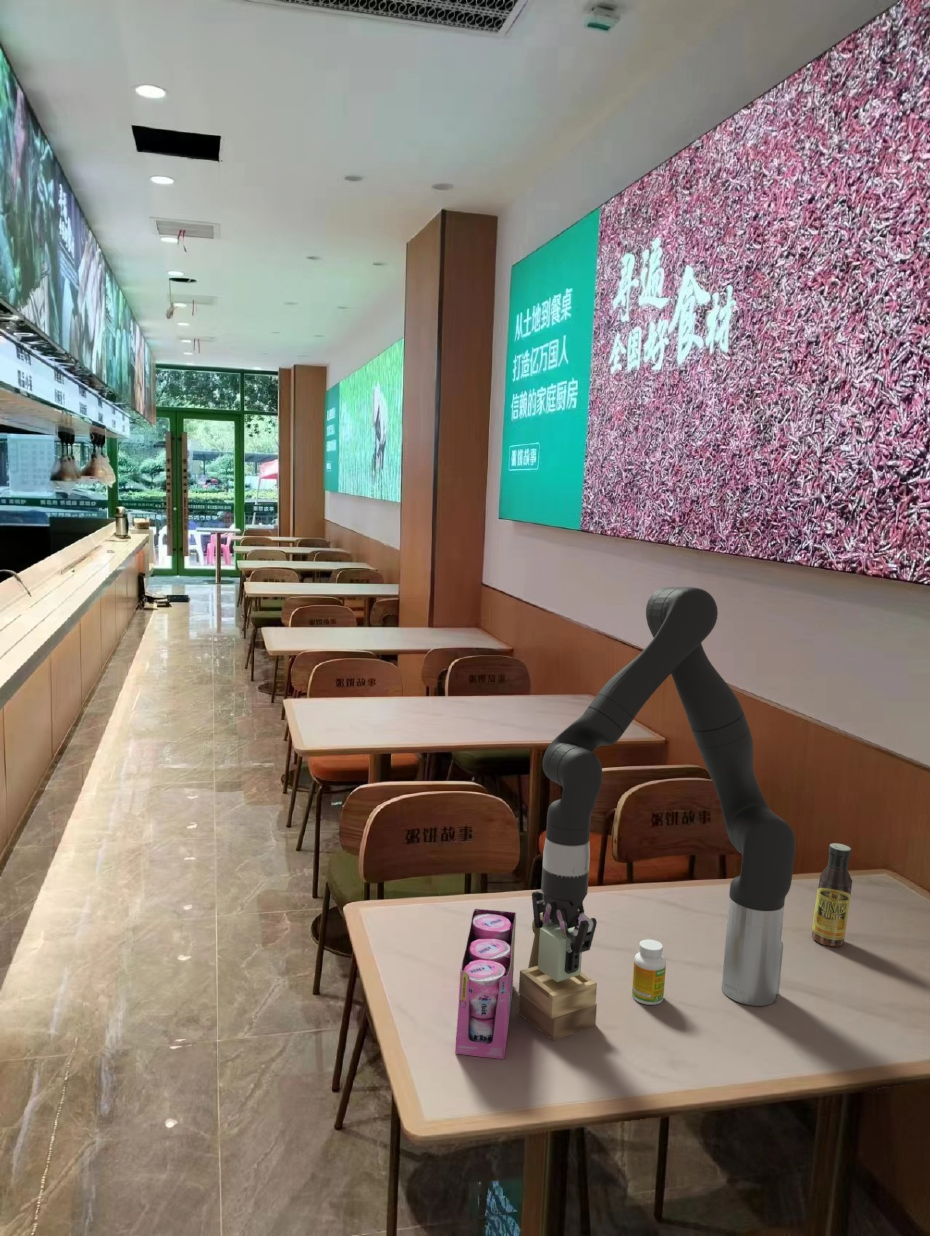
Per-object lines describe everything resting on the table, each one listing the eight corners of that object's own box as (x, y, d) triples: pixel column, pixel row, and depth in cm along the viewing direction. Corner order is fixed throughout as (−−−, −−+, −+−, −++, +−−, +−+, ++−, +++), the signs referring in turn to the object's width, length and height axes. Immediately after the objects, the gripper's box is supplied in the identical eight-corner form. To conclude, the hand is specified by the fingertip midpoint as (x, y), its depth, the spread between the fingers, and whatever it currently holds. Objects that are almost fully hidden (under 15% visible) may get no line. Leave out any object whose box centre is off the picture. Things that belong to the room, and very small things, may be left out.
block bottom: (559, 1001, 157) (561, 979, 156) (595, 1027, 149) (596, 1004, 149) (518, 1016, 152) (519, 993, 151) (553, 1043, 144) (554, 1019, 144)
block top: (561, 979, 156) (562, 958, 156) (595, 1004, 149) (597, 982, 148) (518, 992, 151) (519, 970, 151) (551, 1018, 144) (552, 996, 143)
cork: (558, 986, 161) (562, 926, 160) (524, 981, 162) (528, 922, 161) (562, 969, 167) (565, 912, 166) (529, 964, 168) (532, 908, 167)
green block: (560, 961, 153) (563, 921, 152) (580, 974, 149) (583, 933, 148) (537, 968, 150) (540, 928, 150) (557, 982, 146) (559, 940, 146)
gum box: (505, 1066, 137) (509, 981, 136) (453, 1060, 138) (456, 975, 136) (513, 984, 161) (517, 911, 159) (468, 980, 162) (472, 907, 160)
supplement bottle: (656, 1009, 155) (660, 955, 154) (627, 999, 158) (630, 946, 156) (667, 995, 159) (671, 943, 158) (638, 986, 162) (642, 934, 161)
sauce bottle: (810, 944, 181) (819, 848, 179) (811, 931, 187) (820, 838, 185) (846, 951, 179) (855, 854, 177) (845, 938, 185) (855, 843, 182)
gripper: (613, 876, 144) (606, 978, 146) (555, 846, 156) (549, 941, 158) (577, 885, 140) (571, 990, 142) (520, 854, 151) (515, 951, 154)
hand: (559, 964), depth 150 cm, fingers closed on green block, 5 cm apart
